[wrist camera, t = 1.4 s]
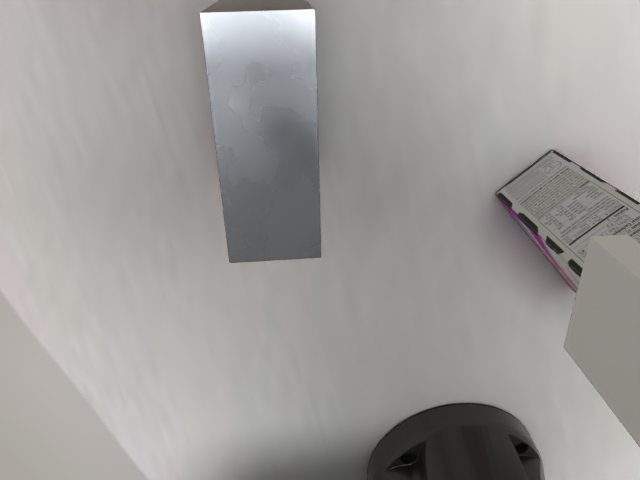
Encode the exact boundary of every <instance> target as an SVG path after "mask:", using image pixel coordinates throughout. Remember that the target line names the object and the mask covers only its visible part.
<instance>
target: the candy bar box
mask: <svg viewBox="0 0 640 480" xmlns="http://www.w3.org/2000/svg"><path fill="white" fill-rule="evenodd" d="M496 196H497V197H498V198H499V200H500V201H501V202H502V204H503V205H504V206H505V207H506V209H507V210H508V211H509V212H510V213H511V215H512V216H513V217H514V218H515V220H516V221H517V222H518V223H519V225H520V226H521V227H522V228H523V230H524V231H525V232H526V233H527V235H528V236H529V237H530V238H531V239H532V241H533V242H534V243H535V244H536V246H537V247H538V248H539V249H540V250H541V252H542V253H543V254H544V255H545V257H546V258H547V259H548V260H549V261H550V263H551V264H552V265H553V266H554V267H555V269H556V270H557V271H558V272H559V273H560V275H561V276H562V277H563V278H564V280H565V281H566V282H567V283H568V285H569V286H570V287H571V288H572V290H573V291H574V292H576V293H577V290H578V286H579V282H580V277H581V273H582V269H583V265H584V261H585V257H586V253H587V249H588V245H589V240H590V237H592V236H608V235H625V234H628V235H629V236H631V237H632V238H633V239H635V240H636V241H637V242H638V243H640V203H639V202H638V201H636V200H634V199H633V198H631V197H629V196H628V195H626V194H624V193H623V192H621V191H620V190H618V189H617V188H615V187H613V186H612V185H610V184H608V183H606V182H605V181H603V180H602V179H600V178H599V177H597V176H595V175H594V174H592V173H590V172H589V171H587V170H586V169H584V168H583V167H581V166H579V165H578V164H576V163H574V162H572V161H571V160H569V159H568V158H566V157H564V156H563V155H561V154H560V153H558V152H556V151H555V150H552V151H550V152H549V153H547V154H546V155H544V156H543V157H542V158H540V159H539V160H538V161H536V162H535V163H534V164H533V165H532V166H531V167H530V168H528V169H527V170H526V171H525V172H523V173H522V174H521V175H519V176H518V177H516V178H515V179H514V180H512V181H511V182H510V183H508V184H507V185H506V186H505V187H503V188H502V189H501V190H500V191H498V192H497V193H496Z"/></svg>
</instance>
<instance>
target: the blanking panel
mask: <svg viewBox="0 0 640 480" xmlns="http://www.w3.org/2000/svg"><path fill="white" fill-rule="evenodd" d="M200 18H201V26H202V35H203V43H204V52H205V60H206V69H207V77H208V86H209V94H210V103H211V111H212V120H213V128H214V137H215V145H216V154H217V162H218V171H219V179H220V188H221V196H222V204H223V213H224V221H225V230H226V238H227V247H228V255H229V263H237V262H253V261H270V260H287V259H304V258H320V257H321V230H320V191H319V152H318V113H317V74H316V35H315V9H314V8H313V7H312V6H311V5H310V4H309V3H308V2H307V1H306V0H220V1H218V2H217V3H215V4H213V5H212V6H210V7H209V8H207V9H205V10H204V11H202V12H201V13H200Z"/></svg>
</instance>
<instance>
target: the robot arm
mask: <svg viewBox="0 0 640 480" xmlns="http://www.w3.org/2000/svg"><path fill="white" fill-rule="evenodd" d="M564 348H565V350H566V351H567V352H568V353H569V355H570V356H571V357H572V359H573V360H574V361H575V363H576V364H577V365H578V367H579V368H580V369H581V371H582V372H583V373H584V375H585V376H586V377H587V378H588V380H589V381H590V382H591V384H592V385H593V386H594V388H595V389H596V390H597V392H598V393H599V394H600V396H601V397H602V398H603V400H604V401H605V402H606V403H607V405H608V406H609V407H610V409H611V410H612V411H613V413H614V414H615V415H616V417H617V418H618V419H619V421H620V422H621V423H622V425H623V426H624V427H625V428H626V430H627V431H628V432H629V434H630V435H631V436H632V438H633V439H634V440H635V442H636V443H637V444H638V446H639V447H640V243H638V242H637V241H636V240H635V239H633V238H632V237H631V236H629V235H628V234H625V235H608V236H592V237H590V240H589V245H588V249H587V253H586V257H585V261H584V265H583V269H582V273H581V277H580V282H579V286H578V290H577V294H576V298H575V302H574V306H573V310H572V315H571V319H570V323H569V327H568V331H567V335H566V339H565V343H564ZM367 479H368V480H545V476H544V470H543V464H542V460H541V457H540V454H539V451H538V449H537V448H536V446H535V444H534V442H533V440H532V438H531V437H530V435H529V433H528V431H527V430H526V428H525V427H524V426H523V424H522V423H521V422H520V421H519V420H517V419H516V418H515V417H513V416H512V415H510V414H508V413H506V412H504V411H502V410H499V409H496V408H493V407H489V406H483V405H474V404H461V405H451V406H445V407H440V408H436V409H432V410H429V411H426V412H424V413H421V414H419V415H417V416H414V417H412V418H410V419H408V420H407V421H405V422H403V423H402V424H400V425H399V426H397V427H396V428H395V429H393V430H392V431H391V432H390V433H389V434H388V435H387V436H386V437H385V438H384V439H383V440H382V441H381V442H380V443H379V445H378V446H377V447H376V449H375V451H374V452H373V454H372V456H371V459H370V462H369V465H368V472H367Z"/></svg>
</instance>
